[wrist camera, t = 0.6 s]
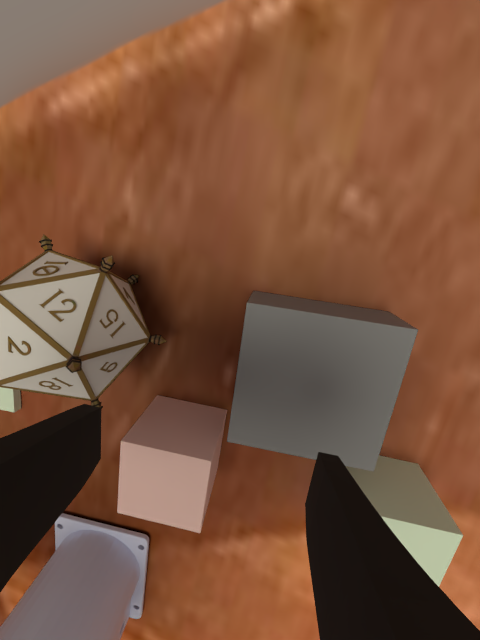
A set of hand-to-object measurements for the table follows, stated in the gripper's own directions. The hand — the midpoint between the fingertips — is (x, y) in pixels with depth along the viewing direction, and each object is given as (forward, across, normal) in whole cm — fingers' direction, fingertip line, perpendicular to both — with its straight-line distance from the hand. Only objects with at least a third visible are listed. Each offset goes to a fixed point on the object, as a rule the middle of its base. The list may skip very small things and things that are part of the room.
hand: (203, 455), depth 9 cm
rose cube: (+10, +3, +7) cm, 12 cm away
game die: (+10, +9, -1) cm, 13 cm away
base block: (+10, -4, 0) cm, 11 cm away
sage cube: (+10, -10, +8) cm, 16 cm away
